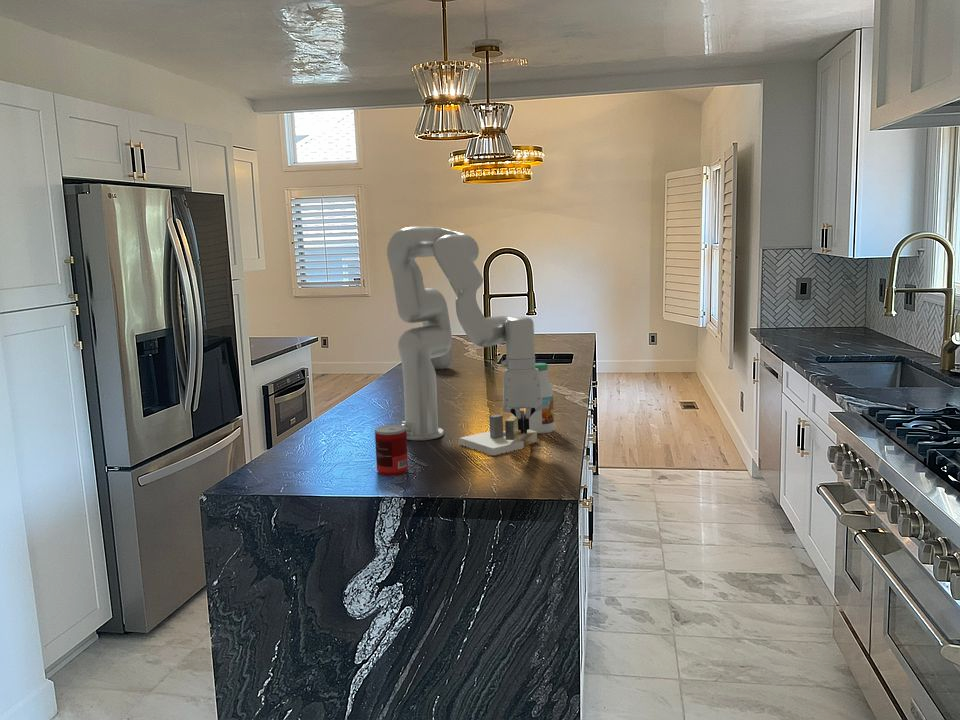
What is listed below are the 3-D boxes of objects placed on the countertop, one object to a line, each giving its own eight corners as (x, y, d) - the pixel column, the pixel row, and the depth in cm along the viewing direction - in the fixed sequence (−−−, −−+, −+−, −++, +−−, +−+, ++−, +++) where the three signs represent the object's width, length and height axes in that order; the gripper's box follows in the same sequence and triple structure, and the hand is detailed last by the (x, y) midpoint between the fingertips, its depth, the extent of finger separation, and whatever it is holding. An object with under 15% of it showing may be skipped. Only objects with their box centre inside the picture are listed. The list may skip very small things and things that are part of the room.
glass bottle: (426, 368, 350) (423, 304, 345) (448, 366, 353) (446, 303, 348) (431, 371, 340) (429, 306, 336) (454, 369, 343) (452, 305, 339)
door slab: (493, 455, 208) (492, 426, 207) (459, 444, 220) (458, 416, 219) (523, 448, 214) (523, 419, 213) (489, 438, 226) (488, 410, 225)
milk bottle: (532, 435, 228) (531, 366, 225) (524, 429, 236) (522, 362, 233) (557, 432, 230) (556, 364, 227) (548, 426, 238) (547, 360, 235)
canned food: (408, 466, 201) (407, 423, 199) (407, 475, 193) (405, 431, 191) (378, 467, 201) (376, 425, 199) (375, 476, 193) (373, 432, 191)
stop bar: (514, 428, 223) (514, 410, 222) (525, 429, 222) (525, 410, 221) (503, 440, 211) (503, 420, 210) (515, 440, 210) (514, 420, 209)
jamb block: (517, 446, 216) (517, 436, 216) (501, 441, 222) (501, 431, 221) (537, 442, 221) (536, 431, 220) (520, 437, 226) (520, 427, 226)
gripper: (492, 367, 205) (495, 437, 207) (550, 365, 204) (553, 434, 207) (492, 363, 212) (495, 430, 215) (548, 361, 212) (551, 428, 214)
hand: (523, 432), depth 211 cm, fingers closed
